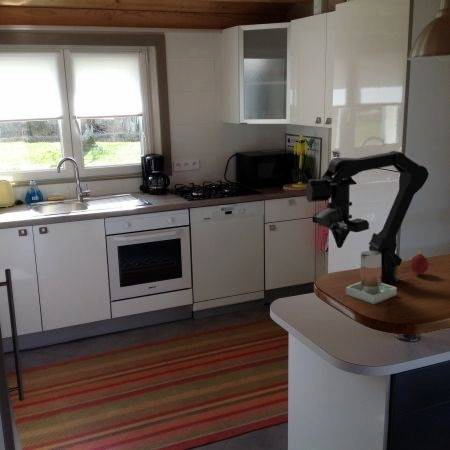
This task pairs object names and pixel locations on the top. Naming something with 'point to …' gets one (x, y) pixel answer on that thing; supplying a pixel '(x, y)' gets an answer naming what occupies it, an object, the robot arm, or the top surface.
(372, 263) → the tin
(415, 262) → the onion
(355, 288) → the pale green square tray
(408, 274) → the top surface
